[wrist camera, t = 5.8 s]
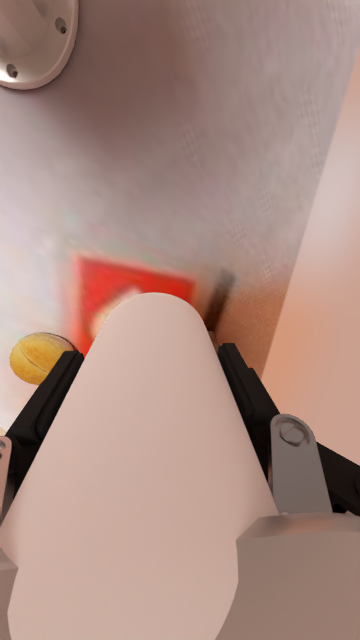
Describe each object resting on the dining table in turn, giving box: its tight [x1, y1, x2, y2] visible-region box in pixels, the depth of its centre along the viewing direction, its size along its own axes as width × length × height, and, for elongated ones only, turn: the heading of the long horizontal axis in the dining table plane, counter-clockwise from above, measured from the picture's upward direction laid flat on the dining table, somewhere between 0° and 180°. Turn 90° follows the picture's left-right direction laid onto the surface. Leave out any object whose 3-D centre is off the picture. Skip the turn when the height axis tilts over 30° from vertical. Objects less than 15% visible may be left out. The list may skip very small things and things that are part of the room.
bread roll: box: [10, 333, 73, 385], centre depth 31 cm, size 8×9×4 cm
